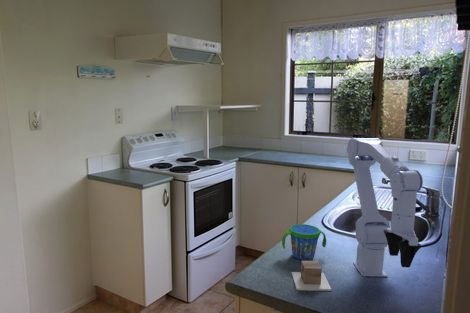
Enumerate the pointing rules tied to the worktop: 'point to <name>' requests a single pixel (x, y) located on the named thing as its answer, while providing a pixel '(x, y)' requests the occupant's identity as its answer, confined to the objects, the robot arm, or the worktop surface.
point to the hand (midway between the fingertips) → (399, 260)
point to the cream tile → (311, 287)
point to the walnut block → (311, 272)
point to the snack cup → (303, 240)
